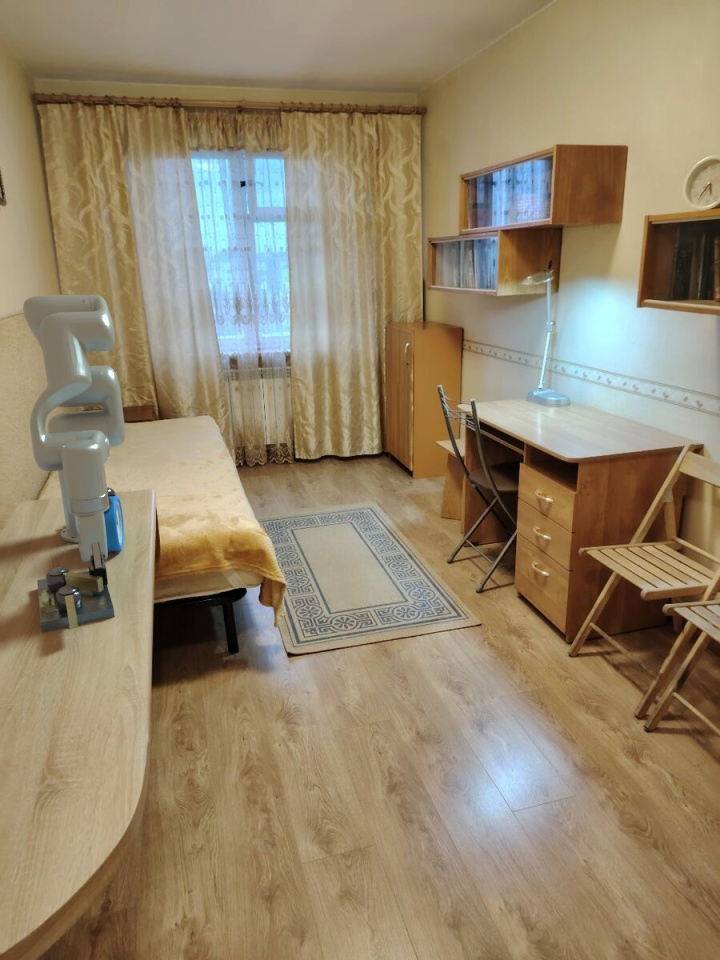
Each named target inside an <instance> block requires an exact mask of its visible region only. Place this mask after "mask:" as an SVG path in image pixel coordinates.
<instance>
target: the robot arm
mask: <svg viewBox="0 0 720 960" xmlns="http://www.w3.org/2000/svg"><path fill="white" fill-rule="evenodd" d="M22 309H23V315H24V318H25V321H26V323H27V326H28V327H29V329H30V331H31V333H32V334H33V336H34V337H35V338H36V340H37V342H38V344H39V346H40V348H41V352H42V355H43V361H44V367H45V368H44V369H45V375H46V381H47V382H46V383H47V385H46V388H45V389H44V390H43V392H42V393H41V394H40V395H39V396H38V398H37V400H36V401H35V403H34V405H33V408H32V410H31V412H30V418H29V430H30V431H29V432H30V437H31V445H32V452H33V457H34V461H35V463H36V465H37V467H38V468H40V470H42V471H45V472H57V474H58V479H59V487H60V491H61V493H60V494H61V501H62V506H63V512H64V520H65V526H66V527H64V528H63V529H62V530H61V531H60V538H61V539H62V541H65V542H68V543H77V544H78V549H79V550H78V551H79V554H80V559H81V561H82V563H84V564H87V563H88V564H89V565H88V566H89V567H88V571H89V574H90V575H93V576H99V577H102V581H103V586H105V585H107V586H108V584H109V582H108V581H109V580H108V572H107V567H106V564H105V560H107V559H108V557H109V555H108V553H109V552H108V551H107V537H106V527H105V518H104V512H105V511H106V510H108V509H109V500H108V492H107V487H108V486H107V485H108V484H107V477H106V475H107V474H106V469H105V464H106V462H107V460H108V458H109V457H110V455H111V448H116V447H118V446H121V445H122V444H123V443H124V442H125V438H126V427H125V418H124V411H123V410H124V409H123V400H122V393H121V385H120V381H119V376H118V374H117V373H116V371H115V370H114V369H113V368H112V367H110V366H109V365H90V363H89V362H90V361H89V355H88V353H91V352H92V353H93V352H106V351H111V350H112V349H113V348H114V346H115V342H116V341H115V339H116V334H115V333H116V332H115V326H114V322H113V319H112V315H111V313H110V310H109V306H108V304H107V301H106V300H105V298H103V296H101V295H99V294H88V293H87V294H42V295H35V296H32V297H31V296H30V297H28V298H27V299H25V300H24V302H23V306H22ZM93 406H95V407H96V406H100V407H102V408H103V409H93V410H81V411H80V410H79V411H77V410H76V411H68V412H61V413H58V414H56V415H54V416H52V417H50V419H49V420H48V423H47V433H46V421H47V420H46V419H47V418H48V416H49V414H50V413H51V412H52V411H53V410H54V409H56V408H57V407H59V408H80V407H81V408H82V407H83V408H84V407H93Z"/></svg>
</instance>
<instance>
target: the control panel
mask: <svg viewBox="0 0 720 960" xmlns="http://www.w3.org/2000/svg"><path fill="white" fill-rule="evenodd" d="M78 573H81V574H87V575H90V574H89V570H85V571H79V572H78ZM36 582H37V593H38V594H37V595H38V597H37V598H38V608H39V611H38V613H39V623H40V630H41V633H45V632H49V631H54V630H58V629H59V630H60V629H64V628H68V627H69V620H68V614H67V611H60V610H59V609H58V605H57V598H56V592H57V591H50V590H48V586H47V580H46V578H40V579H37V581H36ZM103 589H104V590H102V591H101V592H93V591H87V590H82V589H80V590H81V597H82V606H81V607H79V608H78V609H75V610H76V616H77V623H78V625H82V624H87V623H92V622H96V621H101V620H105V619H110V618H115V610H114V608H115V607H114V604H113V601H112V597H111V595H110V591H109V587H108V584H107V585H105V586H103ZM69 628H70V627H69Z"/></svg>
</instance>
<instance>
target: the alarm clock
mask: <svg viewBox="0 0 720 960" xmlns="http://www.w3.org/2000/svg"><path fill="white" fill-rule="evenodd" d="M107 492H108V500H109V509H108V510H106V511H105V512H104V518H105V527H106V537H107V551H108V553H109V552H116V555H117V556H119V551H122V550H123V548H124V541H125V540H124V539H125V537H124V536H125V532H124V530H125V526H124V515H123V509H122V503H121V500H120V497H118V496H117V494H116V491H115V490H114V489H113V488H111V487H108V486H107Z"/></svg>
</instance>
